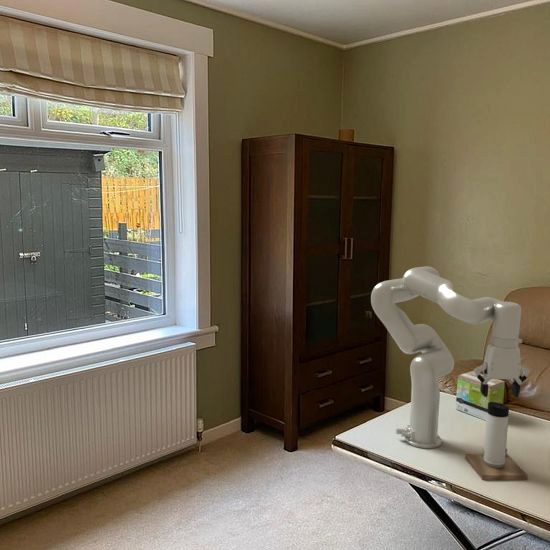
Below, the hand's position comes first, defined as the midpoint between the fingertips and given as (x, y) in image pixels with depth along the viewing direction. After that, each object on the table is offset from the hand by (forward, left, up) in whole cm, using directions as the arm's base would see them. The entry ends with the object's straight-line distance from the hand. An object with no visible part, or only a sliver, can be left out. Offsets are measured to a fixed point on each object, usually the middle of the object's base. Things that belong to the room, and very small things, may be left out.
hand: (499, 395), depth 174 cm
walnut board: (0, 0, -24) cm, 24 cm away
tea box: (+13, +45, -24) cm, 53 cm away
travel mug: (0, 0, -23) cm, 23 cm away
